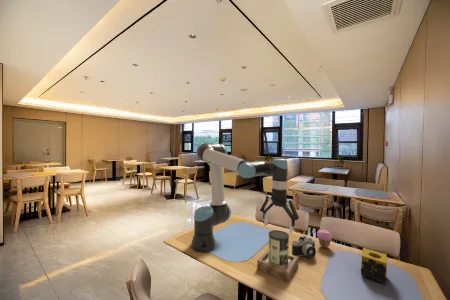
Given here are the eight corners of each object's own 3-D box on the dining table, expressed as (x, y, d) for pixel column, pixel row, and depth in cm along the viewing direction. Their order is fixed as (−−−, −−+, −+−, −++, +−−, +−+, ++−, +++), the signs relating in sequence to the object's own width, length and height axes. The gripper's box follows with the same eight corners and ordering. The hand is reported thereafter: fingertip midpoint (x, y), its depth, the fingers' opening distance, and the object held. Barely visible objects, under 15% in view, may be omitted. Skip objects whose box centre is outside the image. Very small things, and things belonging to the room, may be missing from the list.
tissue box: (361, 265, 104) (362, 247, 104) (386, 273, 98) (386, 253, 98) (360, 275, 96) (360, 255, 96) (386, 284, 90) (387, 263, 90)
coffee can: (287, 256, 106) (287, 231, 105) (289, 268, 96) (289, 239, 95) (268, 254, 108) (268, 229, 108) (268, 265, 98) (268, 237, 98)
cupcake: (327, 250, 119) (327, 234, 118) (314, 245, 126) (314, 229, 125) (334, 246, 124) (334, 231, 124) (321, 241, 131) (321, 226, 131)
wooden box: (257, 268, 100) (257, 260, 100) (270, 255, 113) (270, 247, 113) (288, 281, 91) (288, 272, 90) (298, 265, 103) (298, 257, 103)
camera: (298, 261, 107) (298, 243, 107) (289, 252, 116) (289, 236, 116) (321, 257, 112) (322, 240, 111) (310, 249, 120) (311, 233, 120)
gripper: (254, 186, 106) (253, 224, 106) (302, 193, 91) (300, 238, 91) (260, 184, 112) (259, 220, 112) (306, 191, 97) (304, 233, 97)
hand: (278, 228), depth 102 cm, fingers open, 13 cm apart
